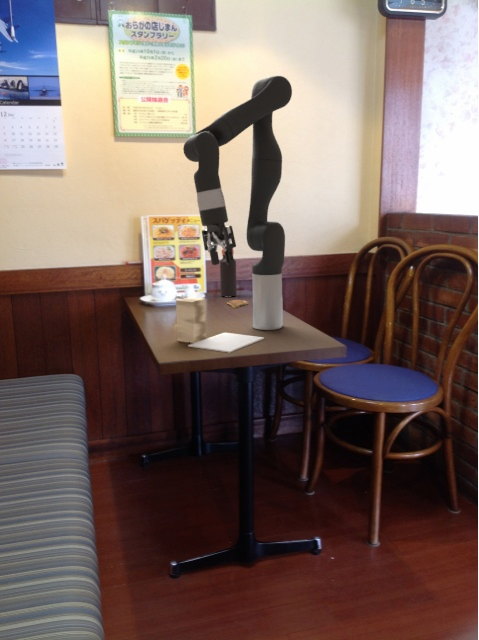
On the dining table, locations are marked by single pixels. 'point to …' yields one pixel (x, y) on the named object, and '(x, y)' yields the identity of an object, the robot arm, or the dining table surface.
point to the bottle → (227, 277)
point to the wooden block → (191, 319)
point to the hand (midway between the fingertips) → (223, 264)
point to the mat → (226, 342)
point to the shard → (237, 303)
